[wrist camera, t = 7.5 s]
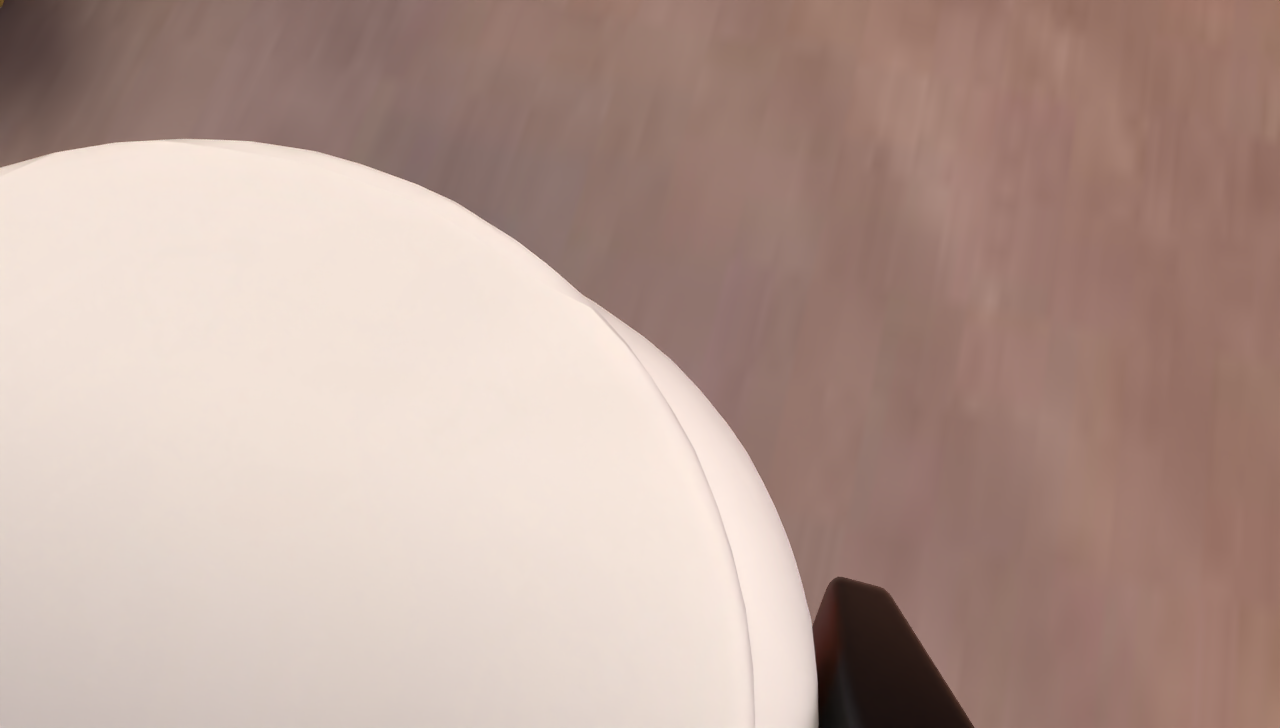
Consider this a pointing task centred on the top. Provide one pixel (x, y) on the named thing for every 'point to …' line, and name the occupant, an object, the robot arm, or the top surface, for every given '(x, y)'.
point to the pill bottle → (355, 469)
